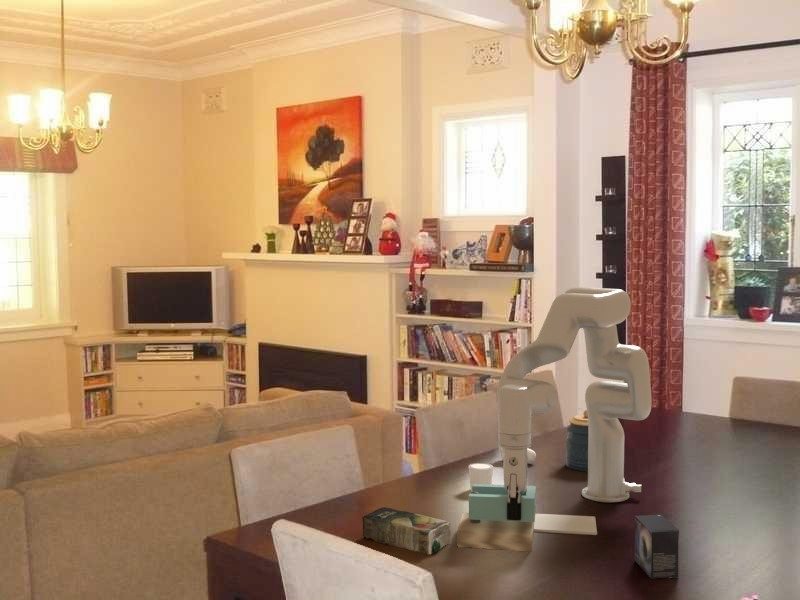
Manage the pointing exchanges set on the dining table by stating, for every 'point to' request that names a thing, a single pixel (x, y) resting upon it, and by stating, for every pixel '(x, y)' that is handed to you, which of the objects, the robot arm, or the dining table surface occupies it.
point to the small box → (656, 546)
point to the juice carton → (406, 530)
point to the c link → (499, 503)
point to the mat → (565, 524)
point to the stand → (494, 534)
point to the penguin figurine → (530, 455)
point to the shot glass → (480, 473)
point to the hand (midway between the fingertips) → (514, 517)
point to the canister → (577, 443)
